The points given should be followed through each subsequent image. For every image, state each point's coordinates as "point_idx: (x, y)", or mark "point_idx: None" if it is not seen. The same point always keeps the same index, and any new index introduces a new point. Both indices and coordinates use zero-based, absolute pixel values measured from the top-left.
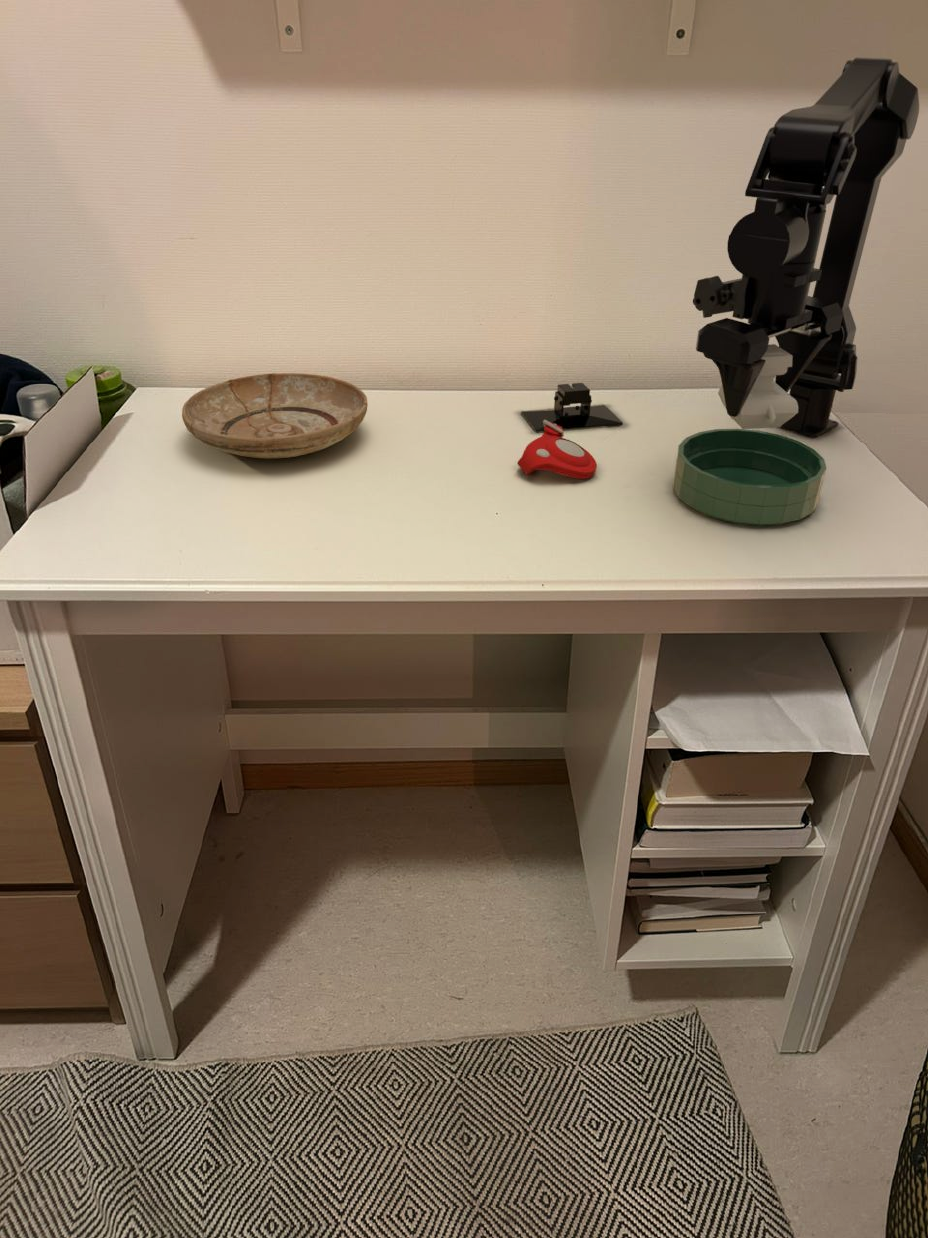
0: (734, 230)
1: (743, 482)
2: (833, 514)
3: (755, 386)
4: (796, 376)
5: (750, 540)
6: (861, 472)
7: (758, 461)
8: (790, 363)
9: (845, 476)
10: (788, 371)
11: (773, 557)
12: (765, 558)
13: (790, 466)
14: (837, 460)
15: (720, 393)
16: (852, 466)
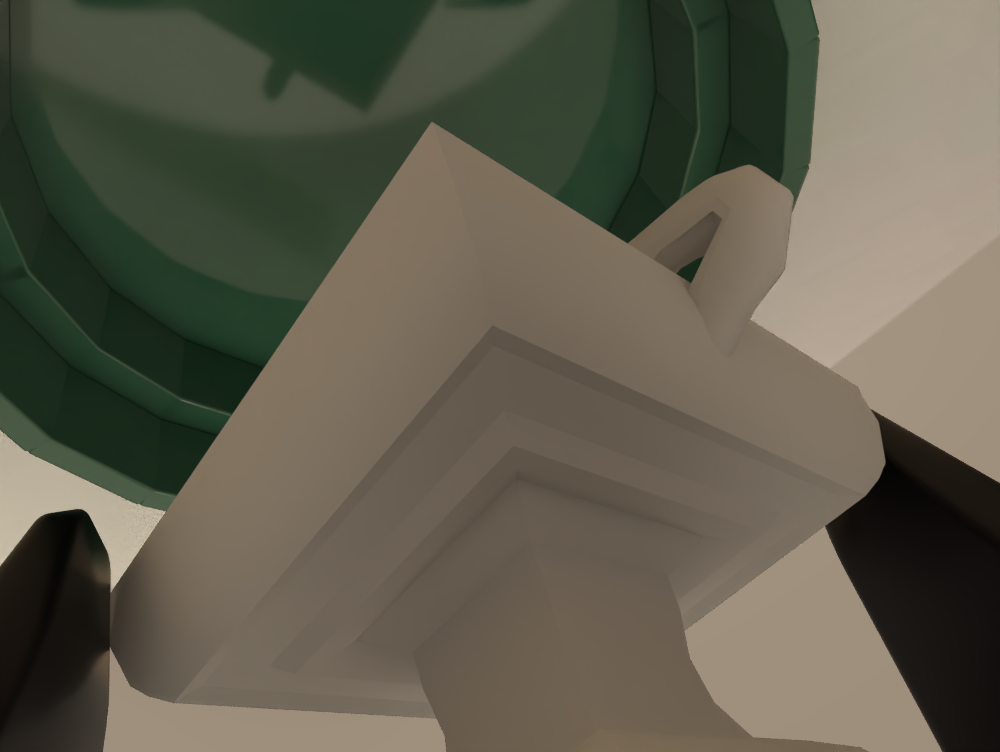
0: None
1: (458, 79)
2: None
3: (437, 686)
4: (891, 653)
5: None
6: (883, 272)
7: (671, 45)
8: None
9: (824, 262)
10: (947, 631)
11: (46, 486)
12: (10, 482)
13: None
14: (964, 165)
15: (392, 204)
16: (925, 228)
